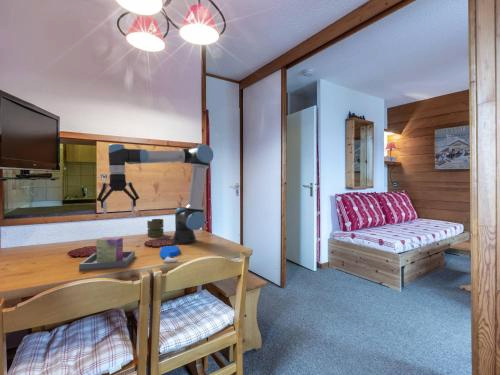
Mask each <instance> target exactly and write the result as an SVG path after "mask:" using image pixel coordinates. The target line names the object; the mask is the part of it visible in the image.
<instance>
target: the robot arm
mask: <svg viewBox="0 0 500 375" xmlns="http://www.w3.org/2000/svg"><path fill="white" fill-rule="evenodd" d="M213 159H214V150H213V149H212V148H211V146H209V145H206V144H199V145H196V146H191V147H188V148H180V149H178V150H177V149H176V150H148V149H142V148H126V147H125V145H124V144H121V143H110V144H109V145H108V168H109V169H108V170H109V182H108V183H107V182H103V183H102V188H101V190H100V191H99V194H98V195H97V198H96V201H97V202H100V207H101V209H102V212H103V215H107V212H108V211H107V210H108V209H107V201H106V200H107V199H108V198H109V197H110V195H111V194H112V193H113V192H124V194H126V195H127V196H128V197H129V198H130V199H131V201H130V202H131V203H130V206H131V209H130V210H131V214H134V213H135V207H137V201H138V200H139V199H140V196H139V195H138V194H139V193H137V190H136V189H135V188H134V185H133V182H131V181H130V182H127V179H126V164H128V165H135V164H136V165H137V164H139V165H141V164H161V163H163V164H164V163H180V164H190V165H191V167H192V170H191V171H192V172H191V179H190V187H189V195H188V203H187V205H186V206H185V207H180V208H176V209H175V211H174V212H175V213H174V218H175V219H174V220H175V221H174V222H175V224H174V226H175V231H174V235H173V238H172V243H173V242H174V243H173V244H175V245H188V244H193V243H196V242H197V237H196V234H195V231H199V230H200V229H202V228H203V227H204V225H205V223H206V216H205V214H204V210H205V209H204V208H203V206H202V205H203V201H204V200H203V199H204V190H205V181H206V174H207V169H209V168H210V163H211V161H213ZM109 187H110V189H109V190H108V191H107V192H106V190H107V188H109ZM126 187H129V188H130V189H129V190H130V191H131V192H132V193H131V192H130V191H129V190H128V189H127V188H126ZM105 192H106V193H105ZM104 194H105V195H104Z"/></svg>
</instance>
